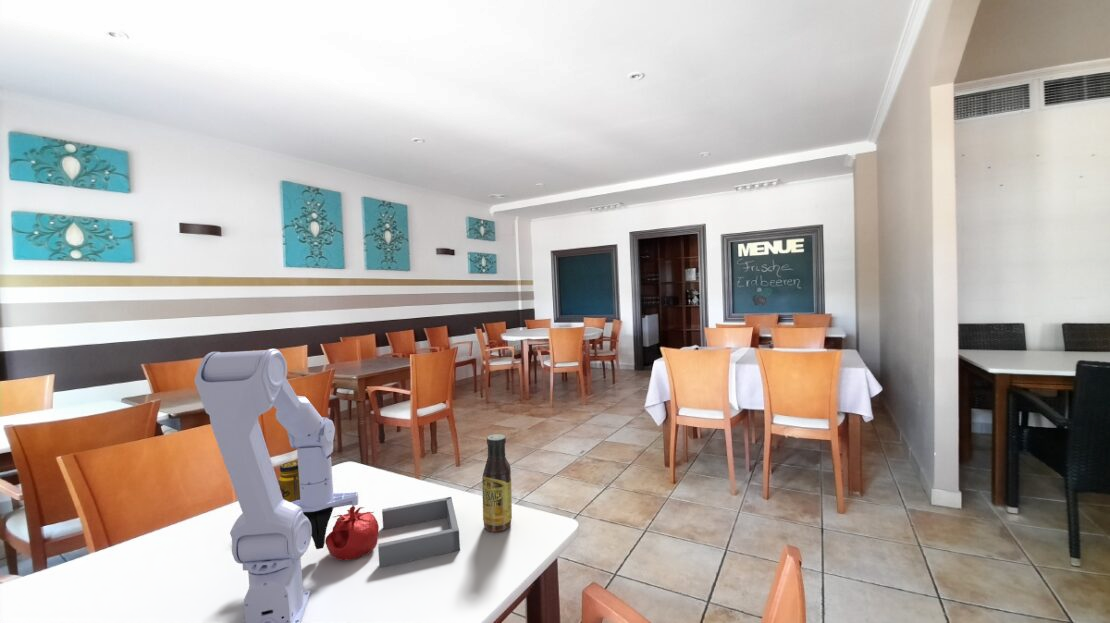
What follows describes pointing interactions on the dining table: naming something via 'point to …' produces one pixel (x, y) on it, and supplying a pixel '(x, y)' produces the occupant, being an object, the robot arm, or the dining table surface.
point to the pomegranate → (353, 535)
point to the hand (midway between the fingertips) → (320, 546)
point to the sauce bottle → (497, 486)
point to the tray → (423, 543)
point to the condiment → (289, 481)
